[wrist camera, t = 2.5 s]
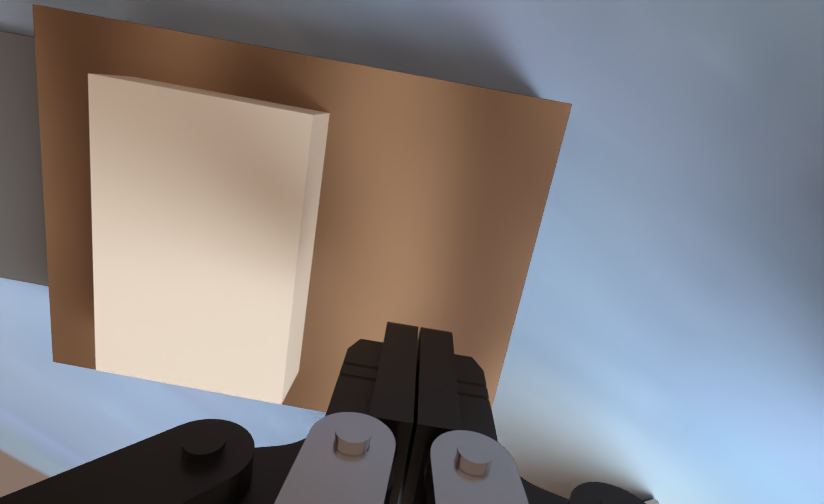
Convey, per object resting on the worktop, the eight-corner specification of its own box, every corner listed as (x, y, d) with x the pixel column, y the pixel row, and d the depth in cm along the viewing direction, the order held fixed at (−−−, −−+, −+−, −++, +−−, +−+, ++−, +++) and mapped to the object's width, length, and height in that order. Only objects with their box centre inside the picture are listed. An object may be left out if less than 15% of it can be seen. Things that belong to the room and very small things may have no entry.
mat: (105, 50, 18) (98, 49, 18) (109, 293, 21) (104, 296, 21) (-116, 9, 18) (-128, 7, 18) (-81, 257, 21) (-90, 260, 21)
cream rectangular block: (329, 113, 15) (313, 114, 13) (298, 371, 17) (281, 404, 16) (133, 76, 15) (88, 73, 13) (133, 340, 17) (95, 370, 16)
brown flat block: (544, 102, 18) (571, 104, 14) (475, 381, 22) (482, 441, 18) (118, 24, 18) (32, 4, 14) (121, 315, 22) (53, 361, 18)
